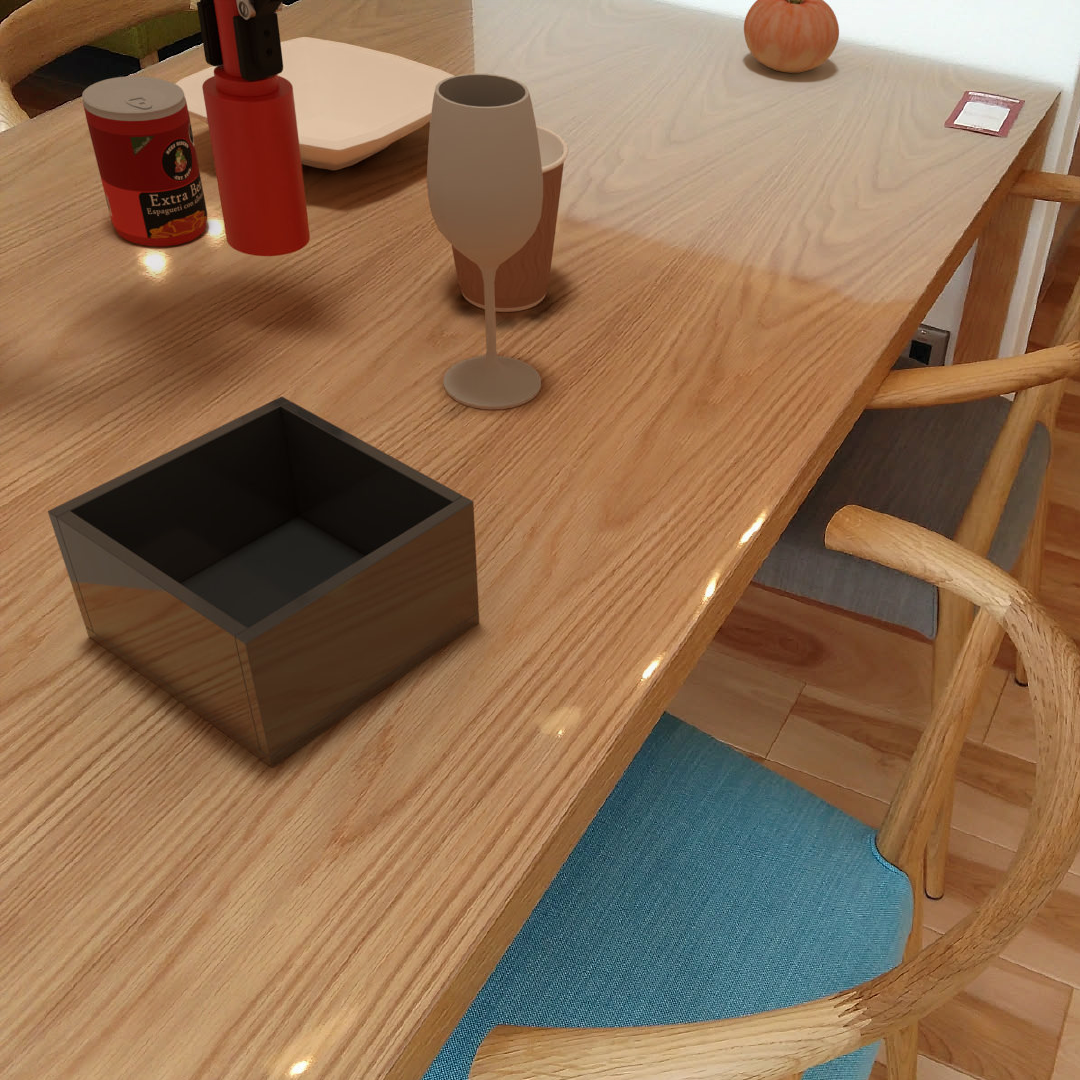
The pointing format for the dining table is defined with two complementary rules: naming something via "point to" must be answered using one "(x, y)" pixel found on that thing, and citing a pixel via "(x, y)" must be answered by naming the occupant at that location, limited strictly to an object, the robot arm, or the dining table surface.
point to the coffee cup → (531, 265)
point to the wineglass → (486, 210)
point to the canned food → (146, 159)
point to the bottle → (255, 153)
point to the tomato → (791, 33)
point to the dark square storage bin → (272, 573)
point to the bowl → (344, 98)
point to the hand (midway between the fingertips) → (244, 66)
